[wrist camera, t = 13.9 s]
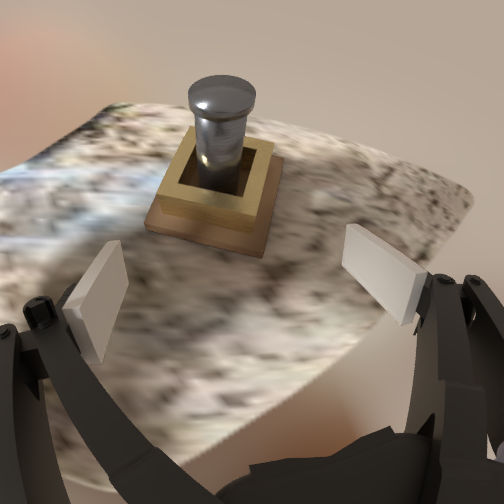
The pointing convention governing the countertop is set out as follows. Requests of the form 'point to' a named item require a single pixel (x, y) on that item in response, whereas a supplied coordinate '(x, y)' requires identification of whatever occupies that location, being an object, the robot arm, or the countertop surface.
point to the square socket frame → (211, 202)
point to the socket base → (220, 235)
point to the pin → (220, 129)
